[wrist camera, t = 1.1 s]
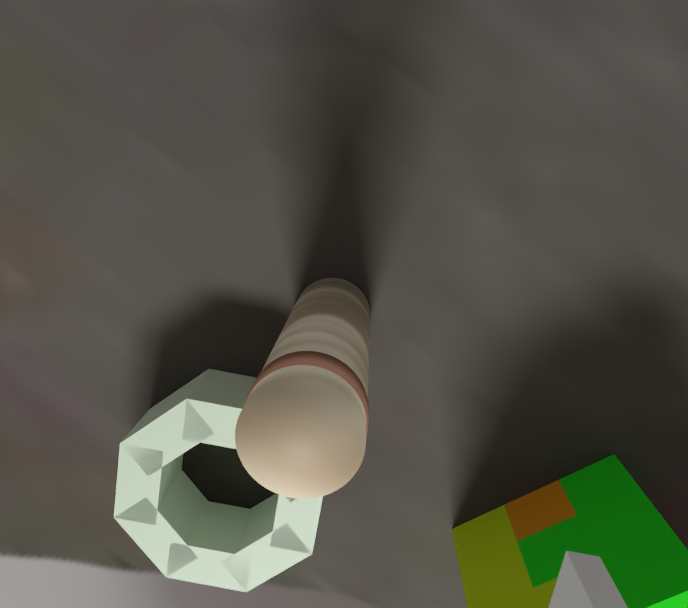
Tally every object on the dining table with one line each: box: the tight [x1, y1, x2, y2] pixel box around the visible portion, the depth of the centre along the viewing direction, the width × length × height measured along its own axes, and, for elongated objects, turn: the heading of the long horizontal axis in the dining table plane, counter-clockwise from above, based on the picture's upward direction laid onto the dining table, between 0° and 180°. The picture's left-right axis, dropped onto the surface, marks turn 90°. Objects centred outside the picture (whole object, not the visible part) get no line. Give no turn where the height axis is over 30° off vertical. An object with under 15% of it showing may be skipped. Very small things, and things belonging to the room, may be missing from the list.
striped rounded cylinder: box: [235, 278, 370, 499], centre depth 25 cm, size 4×4×14 cm
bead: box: [114, 369, 323, 592], centre depth 32 cm, size 10×10×4 cm
